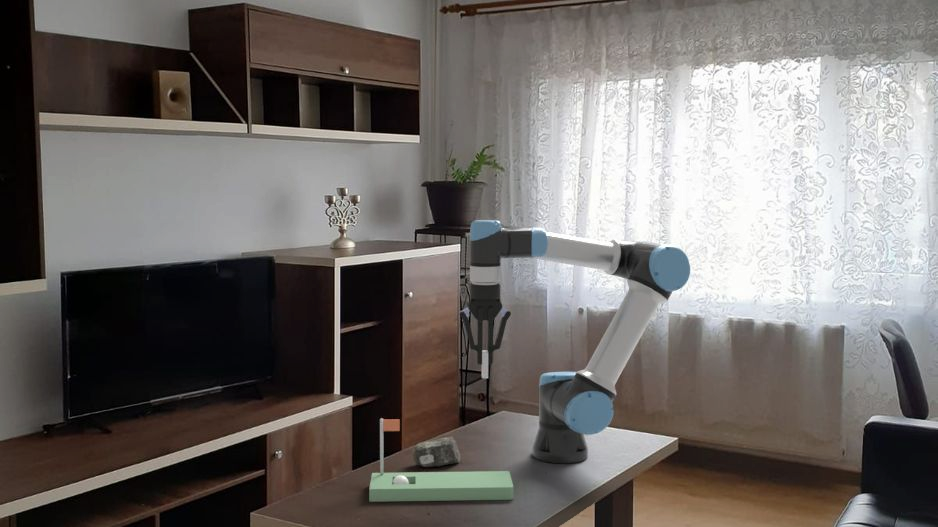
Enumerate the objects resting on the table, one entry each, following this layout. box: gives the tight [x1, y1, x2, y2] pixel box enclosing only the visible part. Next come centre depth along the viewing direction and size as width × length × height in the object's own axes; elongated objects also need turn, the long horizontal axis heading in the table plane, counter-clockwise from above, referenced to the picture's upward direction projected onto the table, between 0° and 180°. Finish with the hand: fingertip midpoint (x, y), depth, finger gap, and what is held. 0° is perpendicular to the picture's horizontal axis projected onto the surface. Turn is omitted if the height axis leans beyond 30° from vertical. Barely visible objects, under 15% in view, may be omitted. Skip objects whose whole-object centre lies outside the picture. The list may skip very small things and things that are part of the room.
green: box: [368, 418, 515, 503], centre depth 224 cm, size 34×12×17 cm, turn 93°
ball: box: [392, 475, 409, 484], centre depth 224 cm, size 4×4×4 cm
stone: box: [412, 436, 461, 468], centre depth 247 cm, size 14×7×10 cm, turn 123°
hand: (484, 377), depth 231 cm, fingers closed
